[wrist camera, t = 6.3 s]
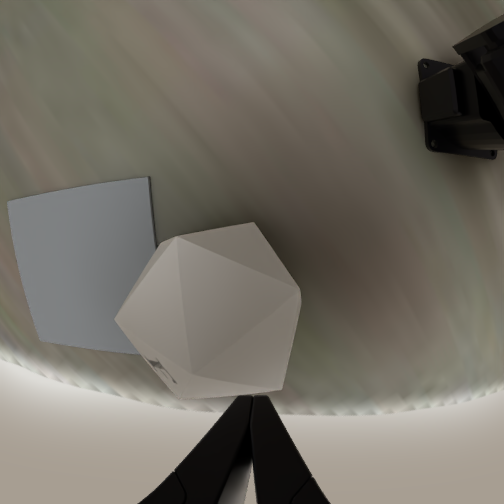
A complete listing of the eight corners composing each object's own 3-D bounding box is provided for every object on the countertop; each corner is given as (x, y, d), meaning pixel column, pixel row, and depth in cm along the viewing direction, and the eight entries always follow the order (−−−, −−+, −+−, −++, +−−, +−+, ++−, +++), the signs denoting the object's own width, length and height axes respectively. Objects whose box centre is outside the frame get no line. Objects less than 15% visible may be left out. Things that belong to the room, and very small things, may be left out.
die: (140, 254, 20) (51, 324, 10) (254, 183, 18) (235, 203, 8) (208, 352, 21) (173, 459, 12) (320, 298, 20) (354, 403, 10)
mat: (149, 176, 18) (147, 176, 18) (175, 355, 22) (174, 357, 21) (9, 200, 19) (7, 201, 19) (41, 339, 23) (40, 340, 22)
